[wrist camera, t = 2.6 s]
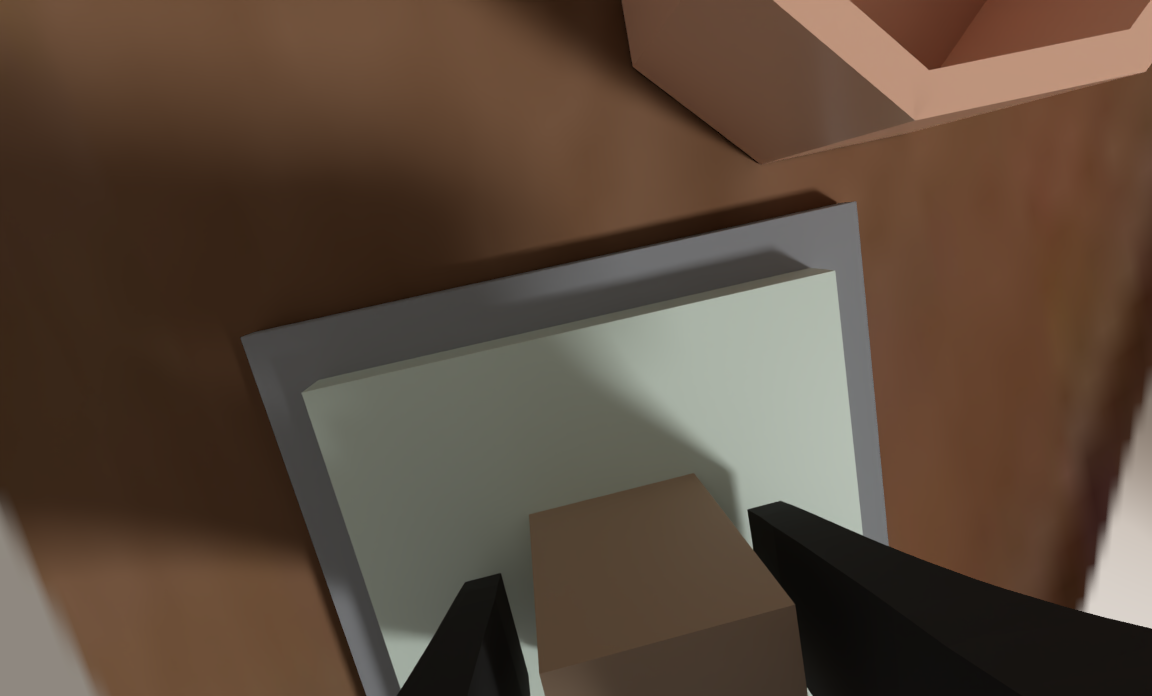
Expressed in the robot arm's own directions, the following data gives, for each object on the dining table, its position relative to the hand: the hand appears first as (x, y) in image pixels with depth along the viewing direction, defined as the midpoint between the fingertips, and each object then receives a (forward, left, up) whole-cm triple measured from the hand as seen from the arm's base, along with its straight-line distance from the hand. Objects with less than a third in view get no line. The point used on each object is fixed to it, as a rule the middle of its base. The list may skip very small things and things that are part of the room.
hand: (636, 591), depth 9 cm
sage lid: (0, 0, -2) cm, 2 cm away
